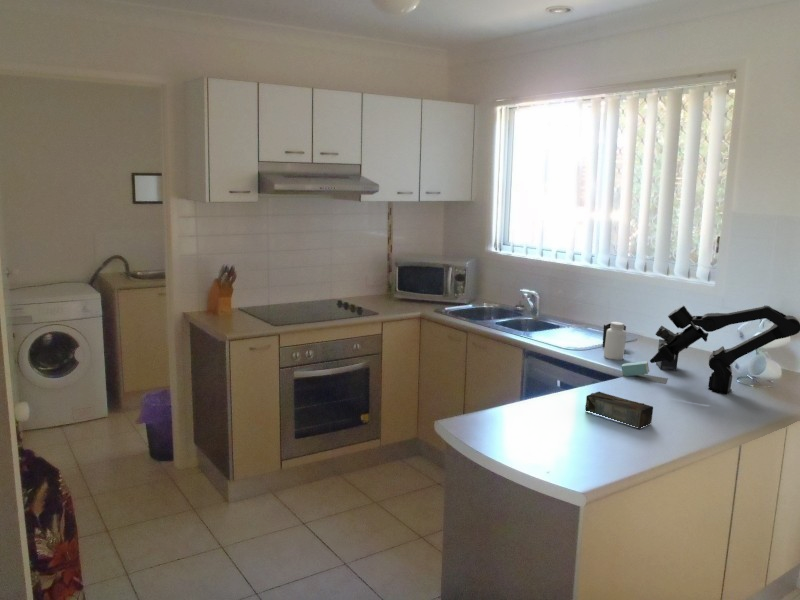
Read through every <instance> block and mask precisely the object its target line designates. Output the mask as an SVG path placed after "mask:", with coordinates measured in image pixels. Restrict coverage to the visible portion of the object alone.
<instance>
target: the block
mask: <svg viewBox="0 0 800 600" xmlns="http://www.w3.org/2000/svg"><path fill="white" fill-rule="evenodd" d="M649 367H650V366H649V363H648V361H636V362H629V363H622V365H621V371H622V376H624V377H630V376H636V375H642V374H645V375H649V373H650V368H649Z"/></svg>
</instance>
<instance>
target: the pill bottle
mask: <svg viewBox="0 0 800 600" xmlns="http://www.w3.org/2000/svg"><path fill="white" fill-rule="evenodd" d="M610 323H611V326H610V327H611V328H609V329H608V330H607V332H606V340H605V347H604V349H603V350H604V351H603V357H604V358H605V359H608V360H619V361H621V360H624V355H625V348H626V339H627V332H626V331H625V330H623V329H624V325H625V323H624V322H619V321H611V322H610Z"/></svg>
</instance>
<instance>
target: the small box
mask: <svg viewBox="0 0 800 600" xmlns="http://www.w3.org/2000/svg"><path fill="white" fill-rule="evenodd" d="M661 344H663V345H664V344H666V342H664V339H662V338H661V339H660V338H659V339H658V346H657V353H658V352H659V347H660V345H661ZM678 359H679V354H677V355H676V354H675V359H674V361H672V362H671V363H669V362H668V361H667V360H666V361H660V362H655V364H656V366H657V367H658V369H659V370H660V371H669V372H677V368H678Z"/></svg>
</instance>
